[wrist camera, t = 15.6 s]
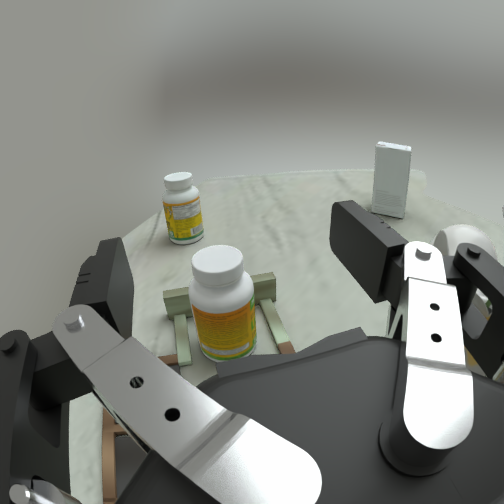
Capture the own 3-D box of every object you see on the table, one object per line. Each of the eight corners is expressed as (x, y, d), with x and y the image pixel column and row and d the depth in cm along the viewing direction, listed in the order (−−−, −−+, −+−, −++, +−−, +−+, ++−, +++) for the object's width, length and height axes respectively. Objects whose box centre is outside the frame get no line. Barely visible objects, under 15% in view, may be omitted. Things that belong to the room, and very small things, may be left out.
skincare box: (404, 210, 53) (413, 145, 47) (403, 220, 50) (413, 151, 43) (372, 204, 56) (378, 139, 49) (369, 213, 52) (375, 144, 46)
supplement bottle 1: (204, 243, 46) (196, 179, 41) (168, 247, 46) (156, 184, 41) (204, 226, 51) (197, 168, 46) (171, 230, 50) (161, 173, 45)
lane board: (375, 510, 15) (388, 501, 13) (112, 558, 12) (92, 553, 10) (272, 294, 36) (272, 271, 34) (113, 321, 32) (105, 300, 31)
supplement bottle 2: (265, 356, 28) (262, 268, 23) (207, 371, 27) (188, 285, 22) (246, 318, 33) (240, 234, 27) (195, 331, 31) (177, 247, 26)
